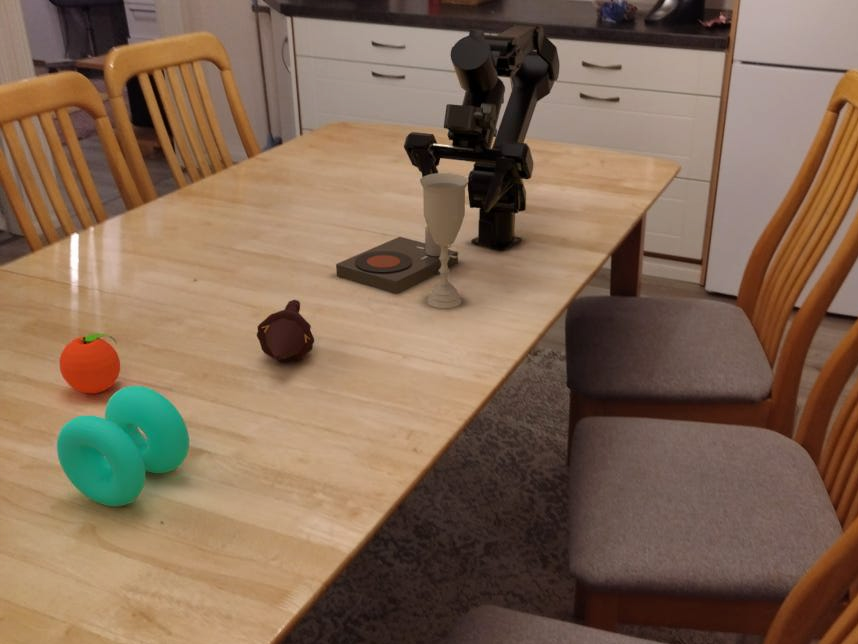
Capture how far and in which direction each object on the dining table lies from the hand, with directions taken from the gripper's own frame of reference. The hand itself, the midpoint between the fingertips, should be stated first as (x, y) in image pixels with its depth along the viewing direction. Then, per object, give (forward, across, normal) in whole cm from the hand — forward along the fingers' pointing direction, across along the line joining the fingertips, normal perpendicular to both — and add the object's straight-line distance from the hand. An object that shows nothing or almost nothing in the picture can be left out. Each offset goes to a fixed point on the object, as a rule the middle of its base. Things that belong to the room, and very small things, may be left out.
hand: (455, 207), depth 146 cm
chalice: (+13, 0, +6) cm, 14 cm away
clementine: (+42, -31, -23) cm, 57 cm away
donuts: (+54, -15, -35) cm, 66 cm away
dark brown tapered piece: (+31, -13, -12) cm, 36 cm away
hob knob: (+1, -6, +14) cm, 15 cm away
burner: (+6, -12, +9) cm, 17 cm away
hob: (+6, -11, +12) cm, 18 cm away
